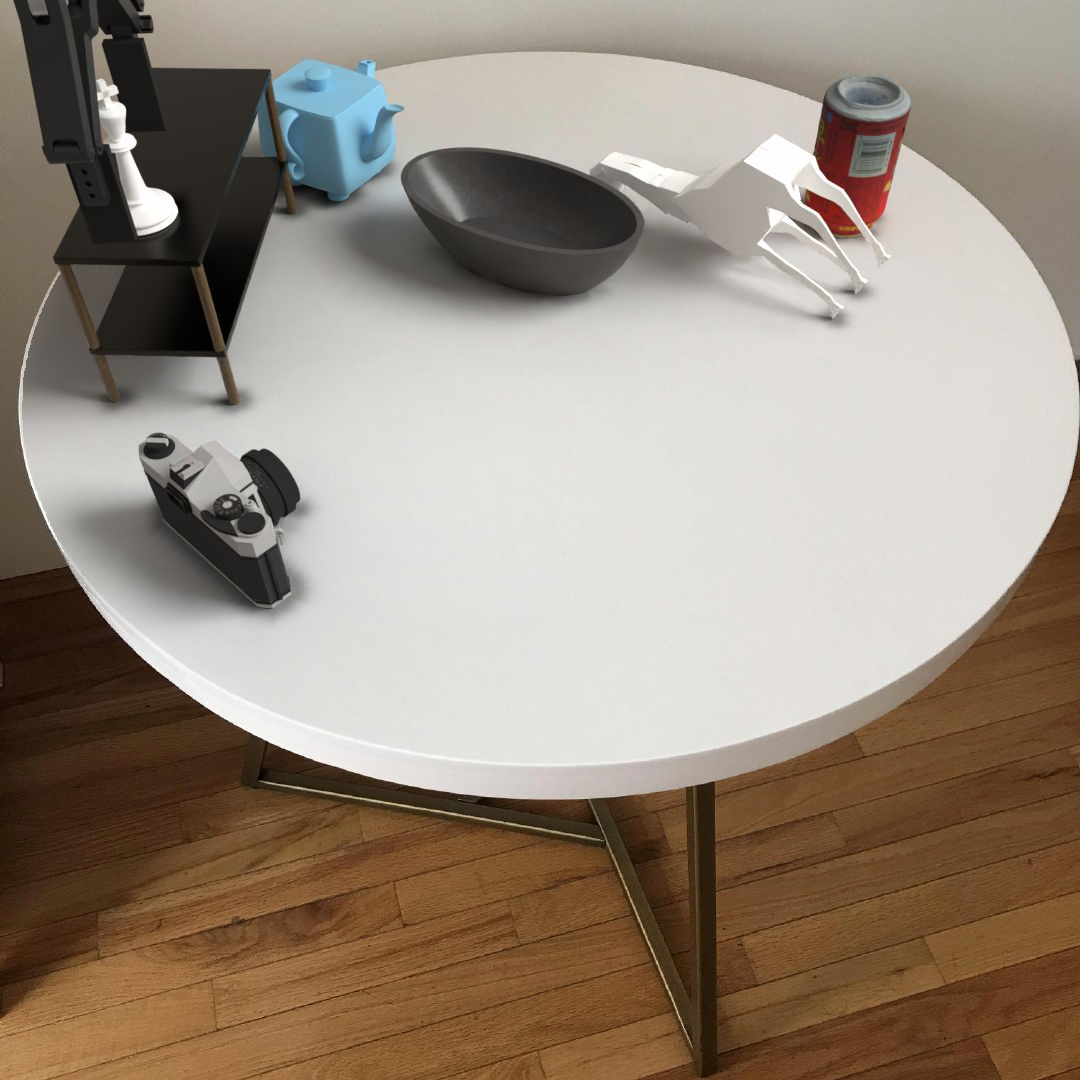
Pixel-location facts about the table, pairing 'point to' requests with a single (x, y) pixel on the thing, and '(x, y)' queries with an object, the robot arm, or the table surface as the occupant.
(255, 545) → the camera
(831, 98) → the soda can
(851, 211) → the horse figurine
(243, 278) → the rack
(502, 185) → the bowl
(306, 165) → the teapot
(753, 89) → the table surface
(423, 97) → the table surface
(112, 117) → the chess piece
